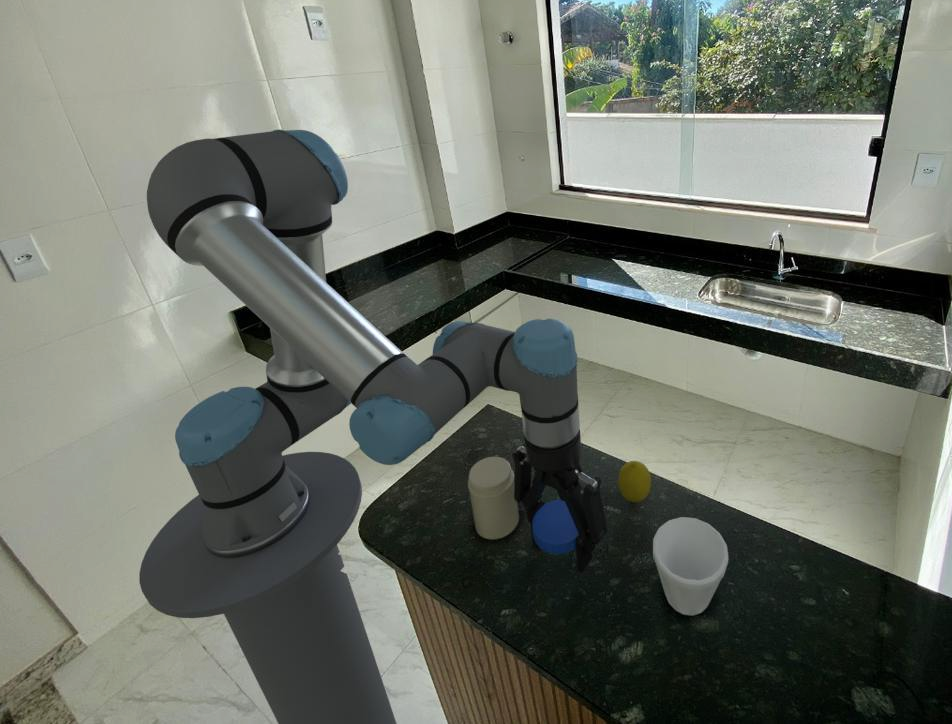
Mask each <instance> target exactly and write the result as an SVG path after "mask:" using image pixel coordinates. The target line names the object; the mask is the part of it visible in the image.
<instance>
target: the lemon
mask: <svg viewBox="0 0 952 724" xmlns="http://www.w3.org/2000/svg"><path fill="white" fill-rule="evenodd" d="M617 483H618V490H619V492H620V494H621V496H622V497H623V498H624V499H625V500H626V501H628V502H630V503H640V502H642V501H644V500H645V499H646V498H647V497H648V495H649V494H650V491H651V488H652V477H651V474H650V471H649V469H648V467H647V466H646V465H645V464H644V463H643V462H641V461H638V460H630V461H628V462H626V463H625V464H624V465H623V466H622V467H621V469H620V470H619V474H618V481H617Z"/></svg>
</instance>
